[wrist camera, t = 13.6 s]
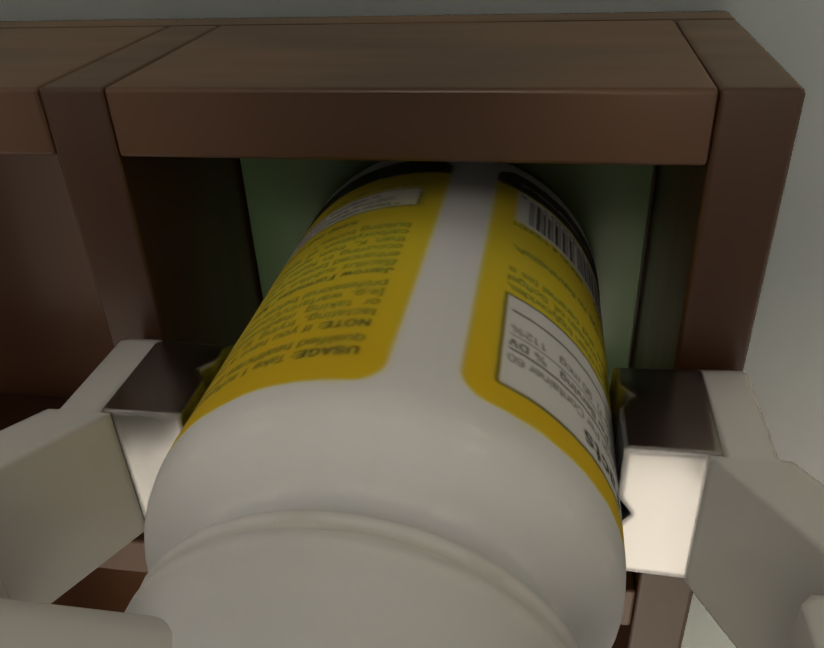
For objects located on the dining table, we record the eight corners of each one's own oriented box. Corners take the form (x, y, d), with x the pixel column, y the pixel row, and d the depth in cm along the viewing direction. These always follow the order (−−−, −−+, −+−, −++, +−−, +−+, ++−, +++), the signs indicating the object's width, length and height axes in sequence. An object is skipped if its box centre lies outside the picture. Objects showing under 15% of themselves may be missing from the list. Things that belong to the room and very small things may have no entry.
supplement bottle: (292, 357, 14) (17, 883, 7) (330, 106, 11) (-48, 541, 4) (548, 428, 14) (534, 1033, 7) (646, 190, 11) (787, 776, 4)
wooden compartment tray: (46, 611, 21) (-53, 759, 18) (-215, 23, 13) (-487, 86, 10) (619, 679, 19) (632, 866, 15) (729, 9, 11) (807, 88, 7)
